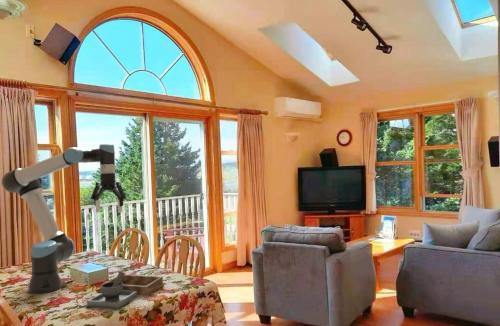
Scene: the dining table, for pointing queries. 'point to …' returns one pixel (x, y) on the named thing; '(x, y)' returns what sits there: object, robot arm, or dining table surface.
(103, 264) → the dining table surface
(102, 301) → the tray
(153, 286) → the tray
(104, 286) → the mortar and pestle
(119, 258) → the dining table surface
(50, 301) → the dining table surface
